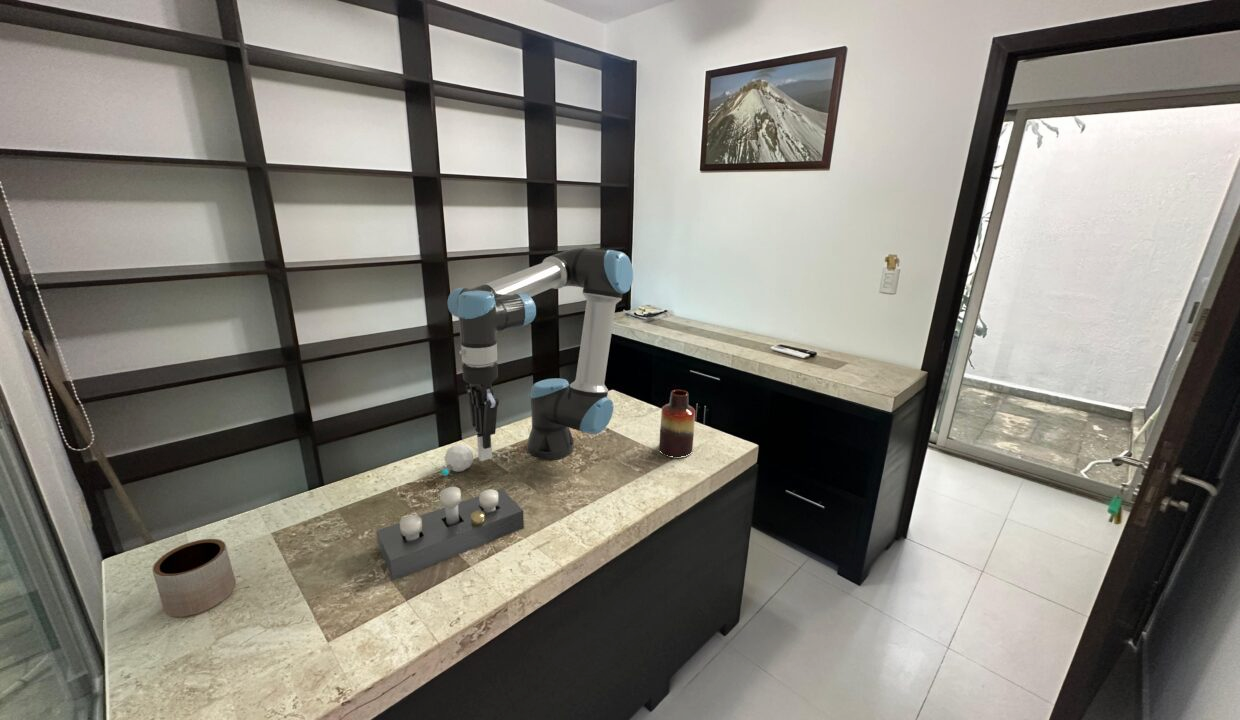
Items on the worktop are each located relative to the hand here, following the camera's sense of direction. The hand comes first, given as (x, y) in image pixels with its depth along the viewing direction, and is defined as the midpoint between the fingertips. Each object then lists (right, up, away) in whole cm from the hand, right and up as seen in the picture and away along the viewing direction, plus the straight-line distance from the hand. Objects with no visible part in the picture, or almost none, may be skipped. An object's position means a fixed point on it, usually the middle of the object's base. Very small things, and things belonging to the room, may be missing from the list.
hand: (485, 458), depth 114 cm
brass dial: (-1, -14, -1) cm, 15 cm away
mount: (-7, -19, 0) cm, 20 cm away
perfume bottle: (-17, -10, +29) cm, 35 cm away
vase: (+50, -7, +46) cm, 68 cm away
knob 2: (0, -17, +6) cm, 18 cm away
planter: (-51, -24, -19) cm, 59 cm away
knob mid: (-7, -15, -1) cm, 16 cm away
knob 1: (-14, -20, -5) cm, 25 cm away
